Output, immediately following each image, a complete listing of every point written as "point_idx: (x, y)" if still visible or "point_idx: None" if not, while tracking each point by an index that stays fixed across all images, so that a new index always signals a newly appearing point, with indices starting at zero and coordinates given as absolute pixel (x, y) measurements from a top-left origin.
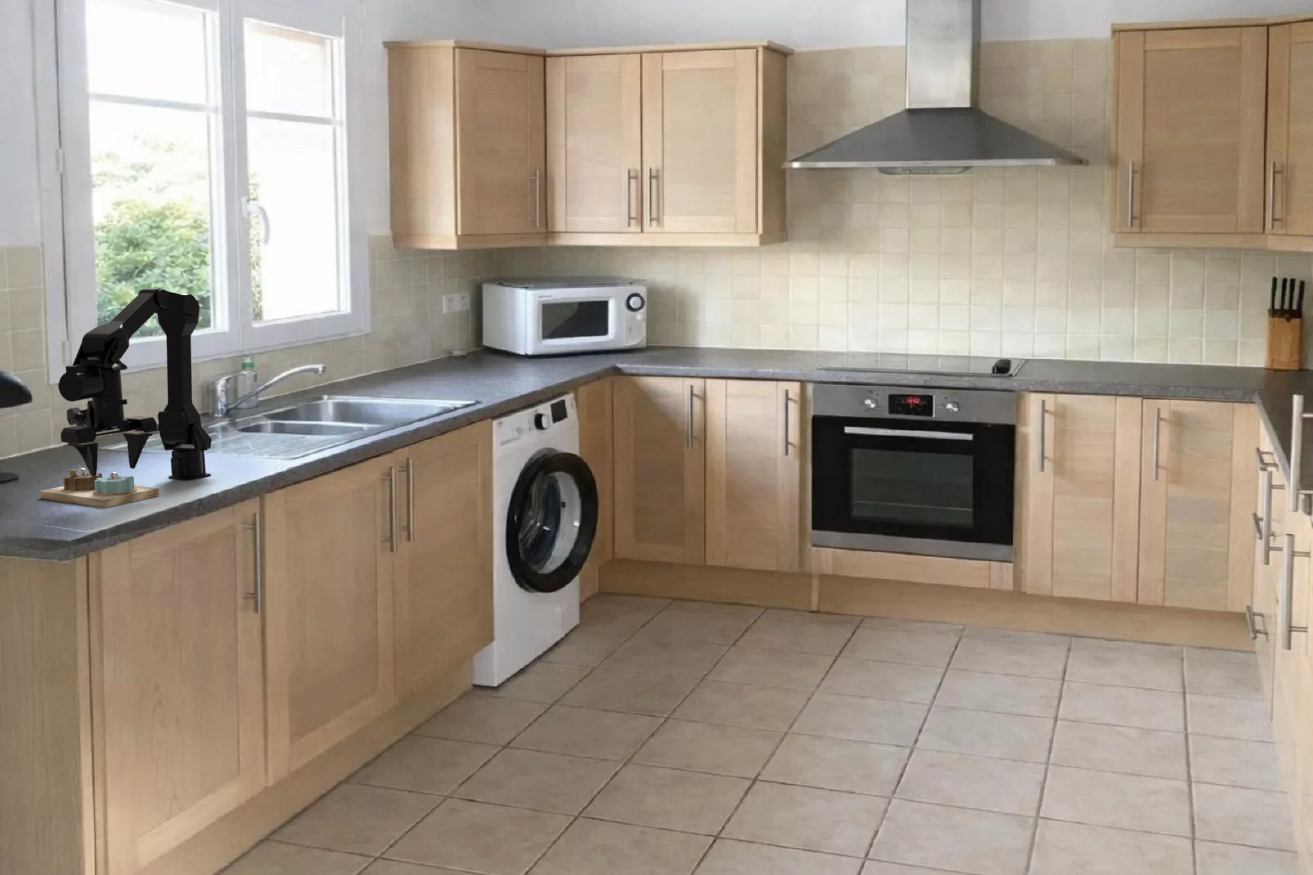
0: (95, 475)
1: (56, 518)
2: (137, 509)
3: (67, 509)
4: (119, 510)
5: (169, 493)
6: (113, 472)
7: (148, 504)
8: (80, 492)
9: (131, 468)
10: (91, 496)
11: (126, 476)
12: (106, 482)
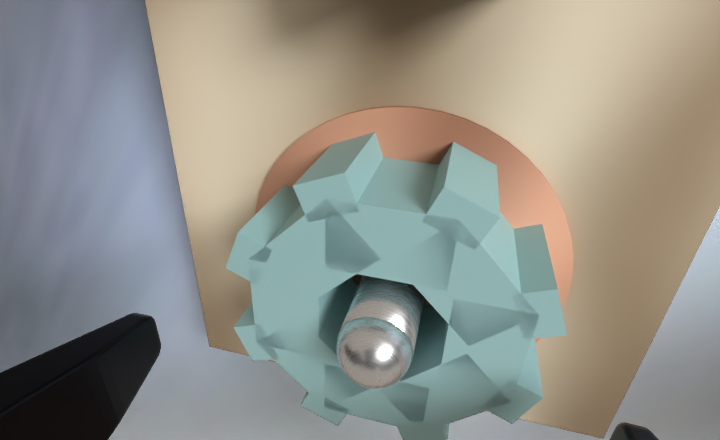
0: (153, 354)
1: (18, 257)
2: (302, 436)
3: (111, 156)
4: (251, 388)
5: (714, 397)
6: (357, 381)
7: (396, 430)
8: (253, 16)
9: (615, 432)
10: (219, 225)
11: (501, 371)
12: (253, 357)
